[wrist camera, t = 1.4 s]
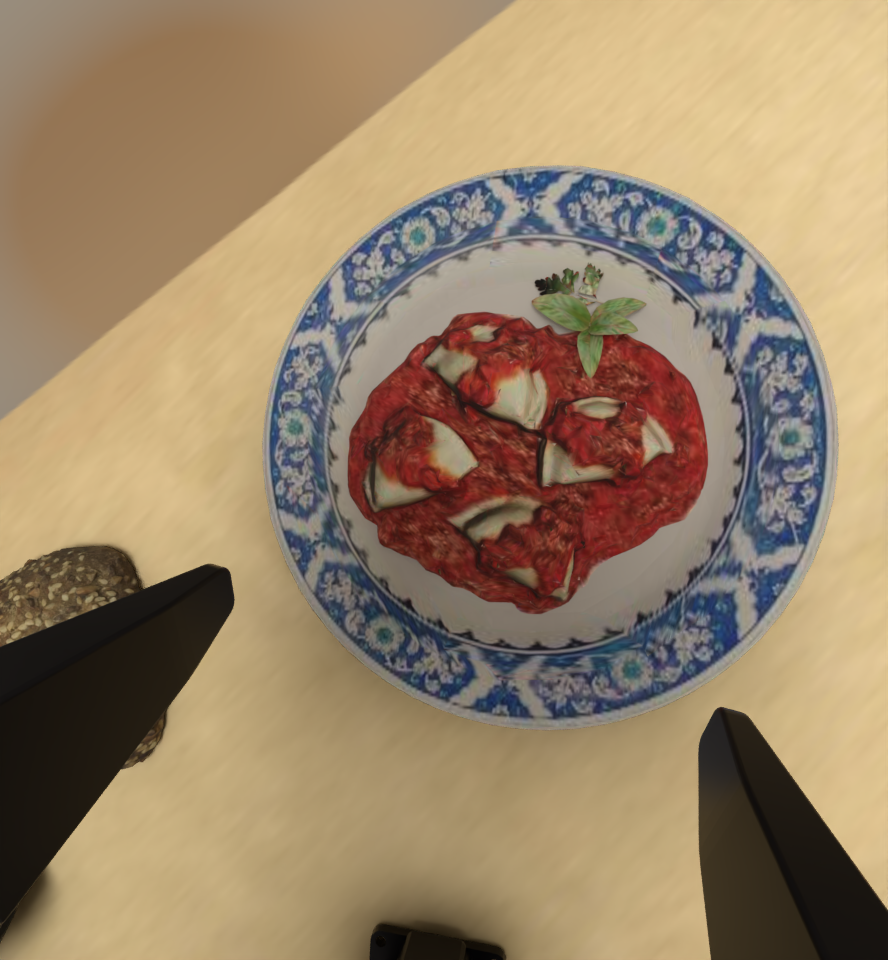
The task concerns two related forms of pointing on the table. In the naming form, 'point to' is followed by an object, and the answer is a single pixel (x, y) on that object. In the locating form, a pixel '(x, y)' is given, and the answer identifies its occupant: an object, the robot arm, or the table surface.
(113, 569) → the bread roll
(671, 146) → the table surface
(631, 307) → the ceramic plate
